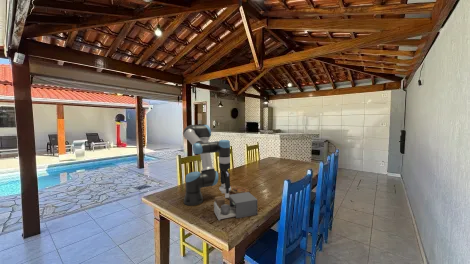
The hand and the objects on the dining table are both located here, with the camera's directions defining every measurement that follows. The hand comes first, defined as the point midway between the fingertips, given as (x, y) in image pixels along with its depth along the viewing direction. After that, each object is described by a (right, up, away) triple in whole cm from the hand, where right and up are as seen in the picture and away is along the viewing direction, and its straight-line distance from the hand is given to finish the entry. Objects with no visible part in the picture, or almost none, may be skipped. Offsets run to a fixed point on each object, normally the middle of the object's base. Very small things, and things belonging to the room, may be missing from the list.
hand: (225, 195), depth 132 cm
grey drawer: (+1, -14, +1) cm, 14 cm away
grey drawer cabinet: (+12, -13, +5) cm, 19 cm away
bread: (+9, -12, +28) cm, 32 cm away
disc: (0, +4, 0) cm, 4 cm away
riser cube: (-5, -13, +15) cm, 20 cm away
